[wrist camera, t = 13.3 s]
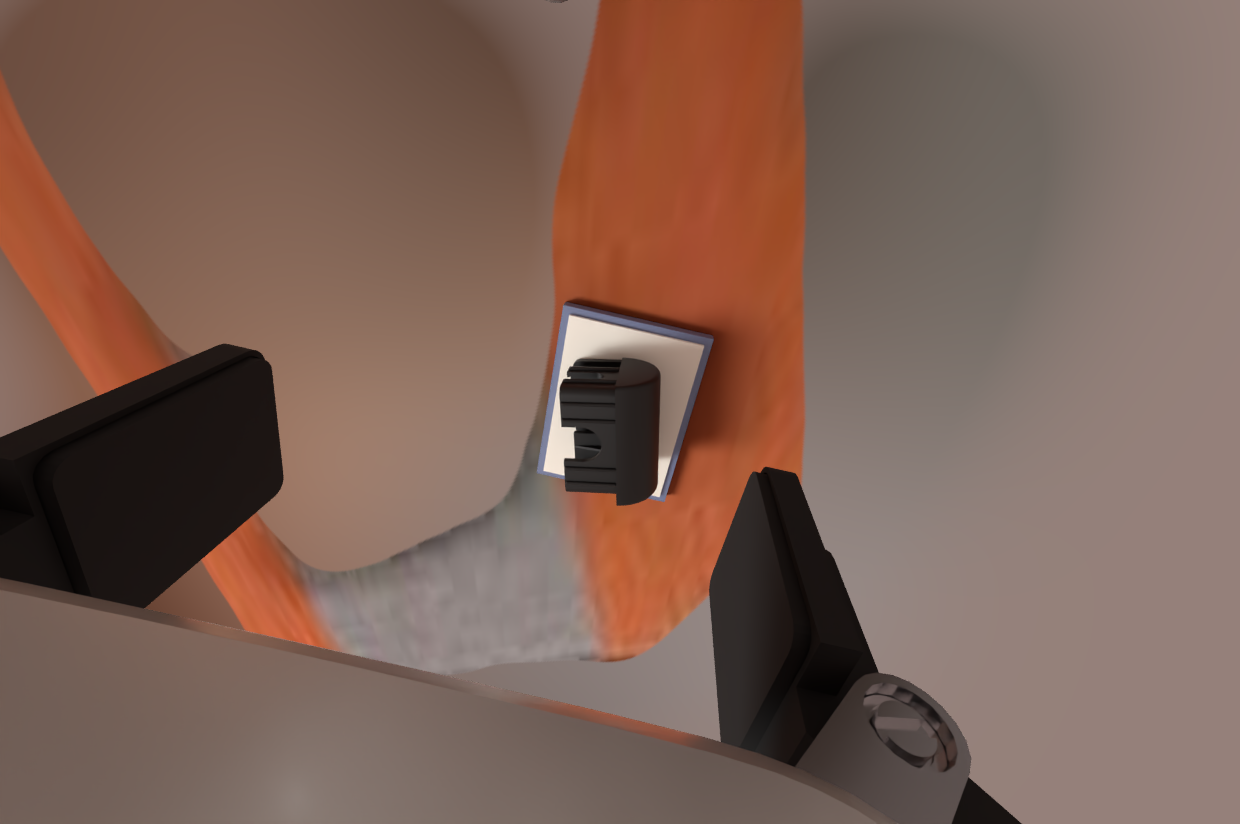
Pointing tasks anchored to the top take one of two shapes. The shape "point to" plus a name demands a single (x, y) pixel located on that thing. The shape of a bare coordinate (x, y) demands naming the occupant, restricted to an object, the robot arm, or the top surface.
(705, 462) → the top surface
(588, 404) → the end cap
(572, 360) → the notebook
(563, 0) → the beverage cup
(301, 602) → the top surface
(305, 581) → the top surface
